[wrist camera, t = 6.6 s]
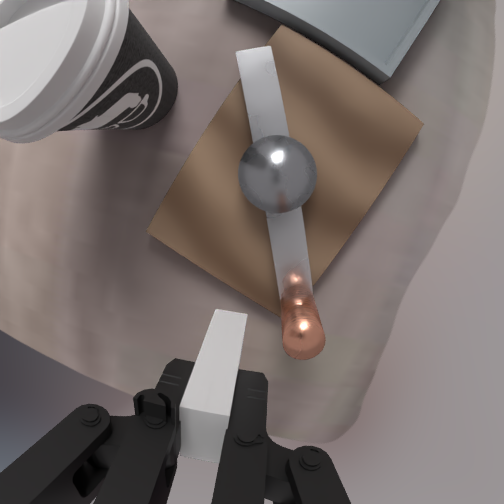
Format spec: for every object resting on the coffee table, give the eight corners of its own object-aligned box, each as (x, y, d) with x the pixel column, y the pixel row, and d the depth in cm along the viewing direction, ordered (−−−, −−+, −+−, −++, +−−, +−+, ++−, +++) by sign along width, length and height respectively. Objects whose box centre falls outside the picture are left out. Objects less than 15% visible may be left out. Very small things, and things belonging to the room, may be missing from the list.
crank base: (281, 32, 20) (281, 24, 19) (415, 125, 22) (423, 123, 20) (152, 227, 25) (145, 231, 24) (285, 312, 26) (286, 320, 25)
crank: (219, 60, 20) (198, 21, 13) (288, 49, 19) (295, 5, 12) (265, 312, 24) (263, 365, 18) (329, 302, 24) (348, 352, 17)
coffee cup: (217, 58, 21) (154, -52, 7) (164, 165, 24) (38, 175, 9) (122, 30, 21) (15, -45, 6) (76, 127, 23) (-61, 118, 9)
